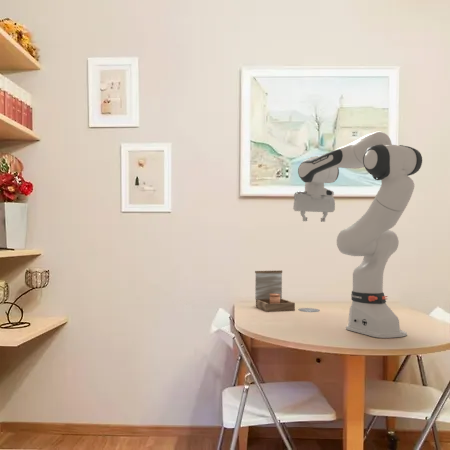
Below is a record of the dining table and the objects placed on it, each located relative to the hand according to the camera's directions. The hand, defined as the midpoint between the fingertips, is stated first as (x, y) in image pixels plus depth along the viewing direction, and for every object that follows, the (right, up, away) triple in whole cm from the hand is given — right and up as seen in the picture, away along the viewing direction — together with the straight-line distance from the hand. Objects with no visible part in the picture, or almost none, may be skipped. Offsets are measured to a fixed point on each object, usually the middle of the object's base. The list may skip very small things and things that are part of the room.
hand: (314, 221), depth 192 cm
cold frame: (-18, -42, +6) cm, 46 cm away
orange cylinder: (-18, -42, +6) cm, 46 cm away
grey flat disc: (-2, -42, +3) cm, 43 cm away
